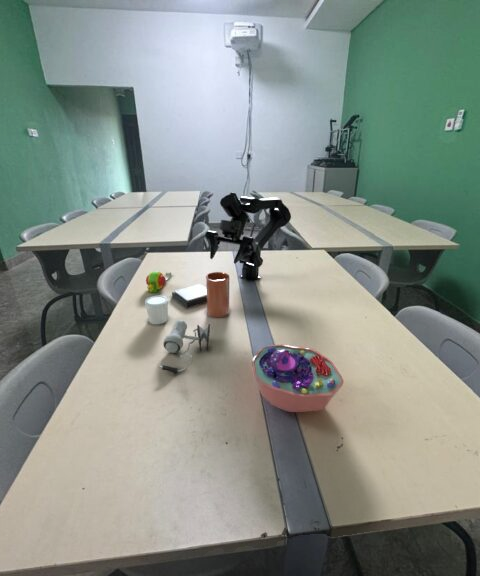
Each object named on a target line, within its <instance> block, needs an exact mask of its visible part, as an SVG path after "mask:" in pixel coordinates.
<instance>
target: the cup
mask: <svg viewBox="0 0 480 576" xmlns="http://www.w3.org/2000/svg"><path fill="white" fill-rule="evenodd" d="M205 287H206V293H207V302H206V312H207V315H208V316H209V317H211V318H224V317H227V316H228V315H229V314H230V275H229V274H228V273H226V272H223V271H222V272H221V271H213V272H209V273H208V274H206V276H205Z"/></svg>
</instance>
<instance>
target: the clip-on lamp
mask: <svg viewBox="0 0 480 576" xmlns="http://www.w3.org/2000/svg"><path fill="white" fill-rule="evenodd" d="M187 329H188V325H187V323H186V321H184V320H177V321H175V322H174V324H173V326H172V328H171V330H170V333H169V334H168V335H167V336H165V338H164V339H163V342H162V345H163V348H164V349H165V350H166V351H167V352H168V353H173V354H174V353H176V354H177V353H178V352H180V351H181V350H182V349H183V346H184V340H183V339H185V340H192V341H190V342H188V344H187V346H188V347H187V349H186V350H185V351H184V352H181V354H179V358H186V357H187V358H189V357H190V360H189V362H188V364H187V365H186V366H184V368H182V369H178V367H173V366H169V365H166V364H162V365H159V366H158V368H159V369H161V370H162V371H165V372H169V373H174V374H177V373H180V372H183V371H185V370H186V369H187V368H189V366H190V365H191V363H192V361H193V355H191V354H186V353H187V352H188V351H189V350H190V348H191V347H190V346H191V345H192V344H194V343H195V341H198V345H199V352H202V341H203V340H205V342H206V351H209V342H210V335H211V334H210V333H211V324H210V323H208V326H207V327H206V328H204V329H203V328H202V327H201V326H200V324H197V325H196V328H195V329H193V330H192V332H193V333H194V335H188V334H186V332H187ZM196 332H197V333H196Z"/></svg>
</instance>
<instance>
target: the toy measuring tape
mask: <svg viewBox="0 0 480 576" xmlns="http://www.w3.org/2000/svg"><path fill="white" fill-rule="evenodd" d="M171 276H172V272H167V271H166V272H165V275H164V273H162V272H161V271H156V270H155V271H154V270H153V271H151V272H150V273H149V274H148V275H147V276H146V279H145V283H146V285H147V290H148V292H149V293H157V292H159V290H161V289H162V288H163V287H164V286H165V285H166V281H168V280H170V277H171Z"/></svg>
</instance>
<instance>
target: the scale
mask: <svg viewBox="0 0 480 576" xmlns="http://www.w3.org/2000/svg"><path fill="white" fill-rule="evenodd" d="M171 297H172V298H173V299H174V300H176V301H177V302H178V303H180V304H181V305H182V306H184V307H185V308H186V309H189V308H193V307H196V306H199V305H202V304H205V303H207V293H206V286H204V285H202V284H200V283H199V284H195V285H191V286H187V287H184V288H180V289H175V290H174V291H171Z"/></svg>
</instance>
